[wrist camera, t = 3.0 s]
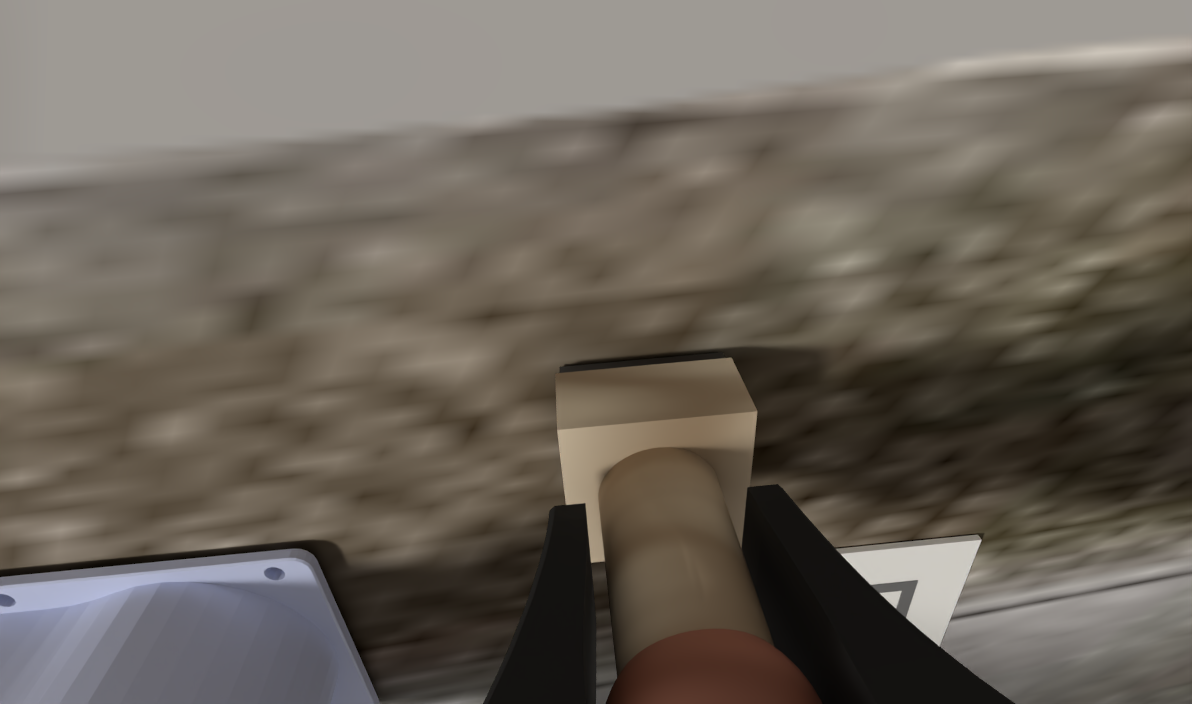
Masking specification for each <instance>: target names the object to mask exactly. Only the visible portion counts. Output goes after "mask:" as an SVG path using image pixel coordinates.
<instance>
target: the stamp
mask: <svg viewBox="0 0 1192 704" xmlns="http://www.w3.org/2000/svg"><path fill="white" fill-rule="evenodd" d="M555 381H556V409H557V432H558V441H559V449H560V458H561V466H562V475H563V483H564V492H565V501H566V505H571V504H581V503H585V504H586V514H587V525H588V536H589V546H590V557H591V563H593V562H602V561H605V567H606V576H607V586H608V595H609V604H610V614H611V623H612V632H613V642H614V651H615V660H616V670H617V679H616V681H615V683H614V685H613V687H612V689H611V691H610V694H609V696H608V699H607V701H606V704H822V702H821V700H820V698H819V696H818V695H817V693H816V691H815V690H814V688H813V686H812V685H811V684H810V682H809V681H808V679H807V678H806V677H805V676H804V674H803V673H802V672H801V671H800V669H799V668H798V667H797V666H796V665H795V664H794V663H793V662H792V661H791V660H790V659H789V658H788V657H786V656H785V655H784V654H783V653H782V652H781V651H779V650H778V649H777V648H775V646H774V643H773V640H772V637H771V634H770V631H769V628H768V625H767V622H766V619H765V616H764V613H763V611H762V608H761V605H760V602H759V599H758V596H757V593H756V590H755V587H754V584H753V581H752V578H751V575H750V572H749V570H748V567H747V564H746V561H745V558H744V555H743V552H742V549H741V548H742V537H743V527H744V517H745V506H746V496H747V487H750V481H751V471H752V461H753V451H754V441H755V431H756V421H757V409H756V407H755V405H754V403H753V401H752V399H751V397H750V395H749V393H748V391H747V389H746V386H745V384H744V382H743V380H742V378H741V376H740V374H739V372H738V370H737V368H736V366H735V364H734V362H733V359H732V358H725V356H724V354H723V352H720V353H709V354H698V355H687V356H675V357H664V358H653V359H642V360H631V361H620V362H609V363H598V364H587V365H575V366H564V367H560V373H555Z"/></svg>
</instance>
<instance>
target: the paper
mask: <svg viewBox="0 0 1192 704" xmlns="http://www.w3.org/2000/svg"><path fill="white" fill-rule="evenodd" d="M980 543H981V538H980V537H979V536H978V535H968V536H958V537H948V538H938V539H928V540H918V541H908V542H898V543H888V544H878V545H868V546H858V547H848V548H838V549H836V550H837V551H838V552H839V553H840V554H841V555H842V556H843V557H844V558H845V559H846V560H847V561H848V562H849V563H850V564H851V565H852V566H853V567H854V568H855V569H856V571H857V572H858V573H859V574H860V575H861V576H862V577H863V578H864V579H865V580H866V581H867V582H868V583H869V584H870V585H871V586H872V587H873V588H875V589H876V590H877V591H878V592H879V593H880V594H881V595H882V596H883V597H884V598H885V599H886V600H887V601H888V602H889V603H890V604H891V605H893V606H894V607H895V608H896V609H897V610H898V611H899V612H900V613H901V614H902V615H903V616H905V617H906V618H907V619H908V620H909V621H910V622H911V623H912V624H914V625H915V626H916V627H917V628H918V629H919V630H920V631H922V632H923V633H924V634H925V635H926V636H927V637H929V638H930V639H931V640H932V641H933V642H935V643H936V644H937V645H938V646H940V644H941V641H942V639H943V636H944V634H945V631H946V629H947V626H948V624H949V621H950V619H951V616H952V614H953V611H954V608H955V606H956V603H957V601H958V598H959V596H960V593H961V591H962V588H963V586H964V583H965V581H966V578H967V576H968V573H969V571H970V568H971V566H972V563H973V560H974V558H975V555H976V553H977V550H978V548H979V545H980Z"/></svg>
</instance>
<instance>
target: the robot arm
mask: <svg viewBox="0 0 1192 704" xmlns="http://www.w3.org/2000/svg"><path fill="white" fill-rule="evenodd" d="M741 549H742V552H743V555H744V558H745V561H746V564H747V567H748V570H749V572H750V575H751V578H752V581H753V584H754V587H755V590H756V593H757V596H758V599H759V602H760V605H761V608H762V611H763V613H764V616H765V619H766V622H767V625H768V628H769V631H770V634H771V637H772V640H773V643H774V646H775V648H777V649H778V650H779V651H781V652H782V653H783V654H784V655H785V656H786V657H788V658H789V659H790V660H791V661H792V662H793V663H794V664H795V665H796V666H797V667H798V668H799V669H800V671H801V672H802V673H803V674H804V676H805V677H806V678H807V679H808V681H809V682H810V684H811V685H812V686H813V688H814V690H815V691H816V693H817V695H818V696H819V698H820V700H821V702H822V704H1015V703H1013V702H1012V701H1011V700H1009V699H1008V698H1006V697H1005V696H1004V695H1002V694H1001V693H999V692H998V691H997V690H995V689H994V688H992V687H991V686H990V685H988V684H987V683H985V682H984V681H983V680H981V679H980V678H979V677H977V676H976V675H975V674H973V673H972V672H971V671H970V670H968V669H967V668H966V667H964V666H963V665H962V664H961V663H959V662H958V661H957V660H956V659H954V658H953V657H952V656H951V655H949V654H948V653H947V652H945V651H944V650H943V649H942V648H941V647H939V646H938V645H937V644H936V643H935V642H933V641H932V640H931V639H930V638H929V637H927V636H926V635H925V634H924V633H923V632H922V631H920V630H919V629H918V628H917V627H916V626H915V625H914V624H912V623H911V622H910V621H909V620H908V619H907V618H906V617H905V616H903V615H902V614H901V613H900V612H899V611H898V610H897V609H896V608H895V607H894V606H893V605H891V604H890V603H889V602H888V601H887V600H886V599H885V598H884V597H883V596H882V595H881V594H880V593H879V592H878V591H877V590H876V589H875V588H873V587H872V586H871V585H870V584H869V583H868V582H867V581H866V580H865V579H864V578H863V577H862V576H861V575H860V574H859V573H858V572H857V571H856V569H855V568H854V567H853V566H852V565H851V564H850V563H849V562H848V561H847V560H846V559H845V558H844V557H843V556H842V555H841V554H840V553H839V552H838V551H837V550H836V549H835V548H834V547H833V546H832V544H831V543H830V542H829V541H828V540H827V539H826V538H825V537H824V536H823V535H822V534H821V532H820V531H819V530H818V529H817V528H816V527H815V526H814V525H813V523H812V522H811V521H810V520H809V519H808V518H807V517H806V515H805V514H804V513H803V512H802V511H801V510H800V509H799V507H798V506H797V505H796V504H795V503H794V501H793V500H792V499H791V498H790V497H789V496H788V494H787V493H786V492H785V491H784V490H783V488H781V487H780V486H779V485H778V484H776V485H766V486H756V487H747V496H746V506H745V517H744V527H743V537H742V548H741ZM0 704H380V701H379V699H378V696H377V694H376V692H375V690H374V687H373V685H372V683H371V681H370V678H369V676H368V674H367V672H366V669H365V667H364V665H363V663H362V660H361V658H360V656H359V653H358V651H357V649H356V647H355V644H354V642H353V640H352V638H351V635H350V633H349V631H348V629H347V626H346V624H345V622H344V620H343V617H342V615H341V613H340V611H339V608H338V606H337V604H336V602H335V599H334V597H333V595H332V593H331V590H330V588H329V586H328V584H327V581H326V579H325V577H324V575H323V572H322V570H321V568H320V566H319V563H318V561H317V559H316V558H315V557H314V555H313V554H311V553H310V552H308V551H306V550H303V549H283V550H273V551H263V552H253V553H242V554H232V555H222V556H212V557H201V558H191V559H181V560H170V561H160V562H150V563H140V564H129V565H119V566H109V567H98V568H88V569H78V570H68V571H57V572H47V573H37V574H27V575H16V576H6V577H0ZM483 704H596V614H595V602H594V591H593V579H592V568H591V557H590V546H589V536H588V525H587V514H586V504H585V503H581V504H571V505H560V506H554V507H553V508H552V509H551V510H550V512H549V521H548V528H547V533H546V538H545V542H544V547H543V551H542V554H541V558H540V562H539V566H538V569H537V572H536V575H535V578H534V581H533V584H532V588H531V591H530V594H529V597H528V600H527V603H526V606H525V608H524V611H523V613H522V616H521V619H520V621H519V624H518V626H517V629H516V631H515V634H514V636H513V639H512V642H511V644H510V647H509V649H508V651H507V654H506V656H505V658H504V660H503V663H502V665H501V667H500V669H499V672H498V674H497V676H496V678H495V680H494V682H493V684H492V686H491V688H490V690H489V693H488V695H487V697H486V699H485V701H484V703H483Z"/></svg>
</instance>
